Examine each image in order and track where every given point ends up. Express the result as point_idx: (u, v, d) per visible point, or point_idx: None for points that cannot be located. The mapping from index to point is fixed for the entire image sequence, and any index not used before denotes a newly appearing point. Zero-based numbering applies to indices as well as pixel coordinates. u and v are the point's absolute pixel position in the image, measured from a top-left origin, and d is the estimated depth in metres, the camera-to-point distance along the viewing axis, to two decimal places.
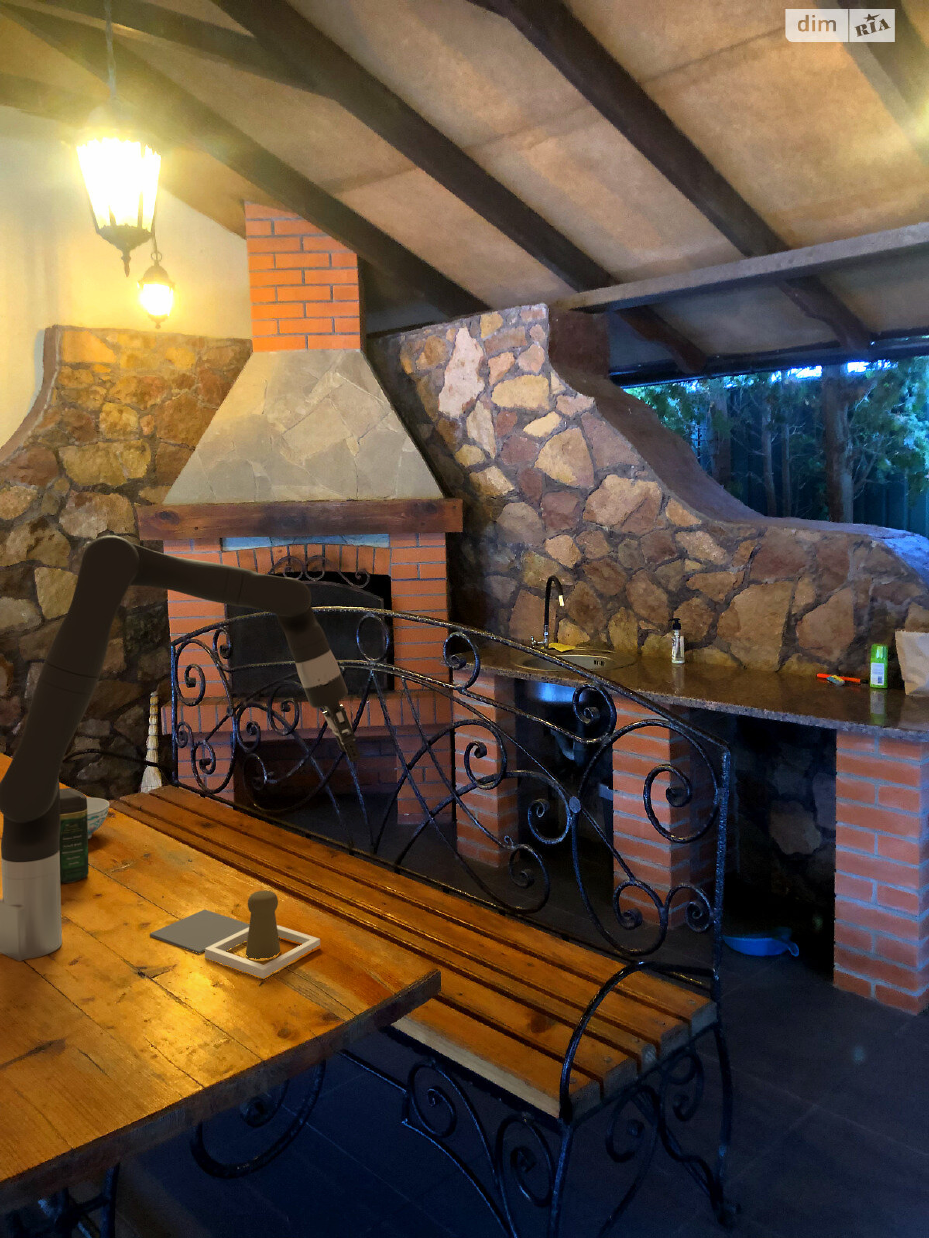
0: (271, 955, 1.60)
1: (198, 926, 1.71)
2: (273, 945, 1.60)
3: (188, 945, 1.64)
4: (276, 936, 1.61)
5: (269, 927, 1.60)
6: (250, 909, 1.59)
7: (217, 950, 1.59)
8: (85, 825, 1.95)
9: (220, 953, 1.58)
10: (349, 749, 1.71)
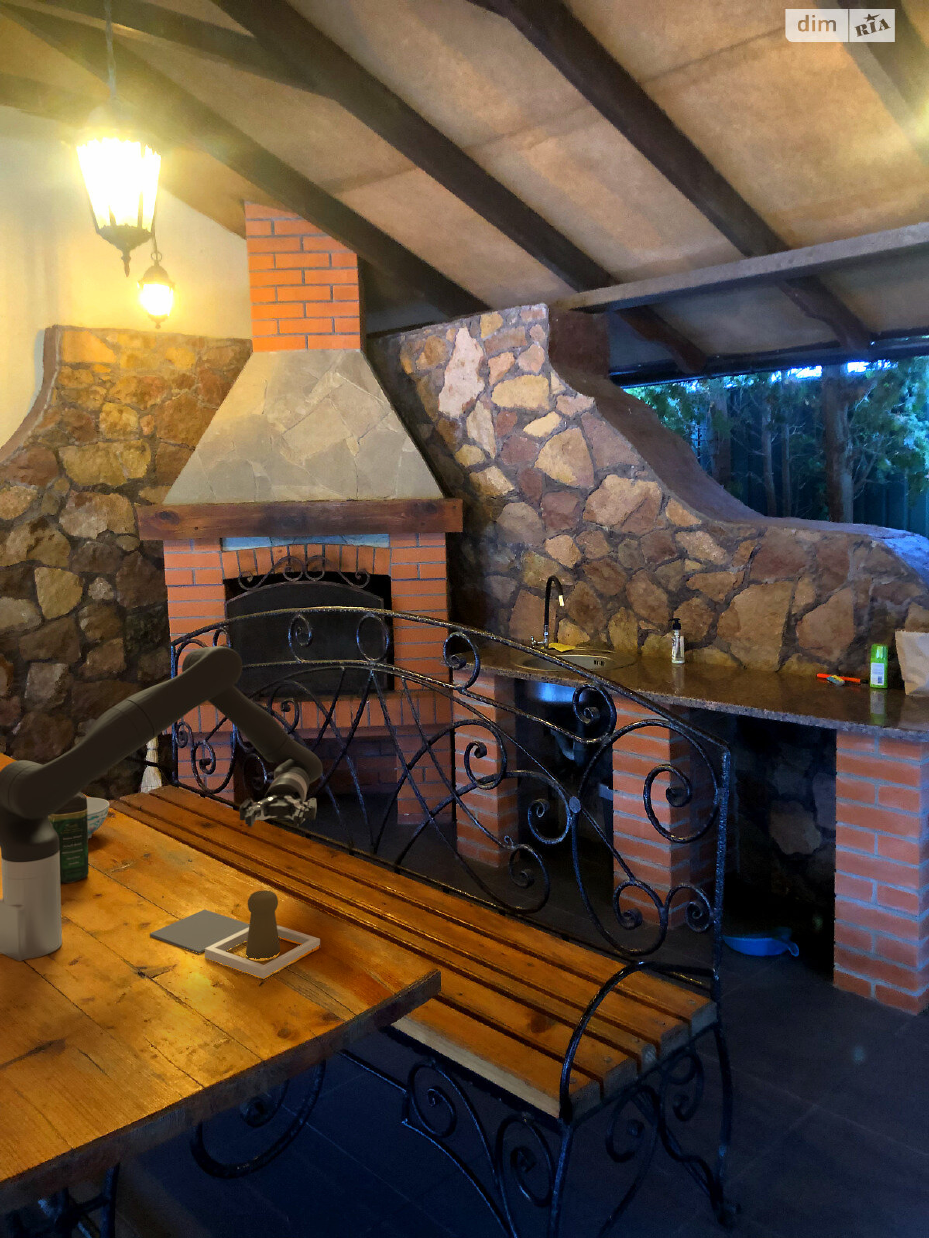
0: (271, 955, 1.60)
1: (198, 926, 1.71)
2: (273, 945, 1.60)
3: (188, 945, 1.64)
4: (276, 936, 1.61)
5: (269, 927, 1.60)
6: (250, 909, 1.59)
7: (217, 950, 1.59)
8: (85, 825, 1.95)
9: (220, 953, 1.58)
10: (303, 814, 1.73)
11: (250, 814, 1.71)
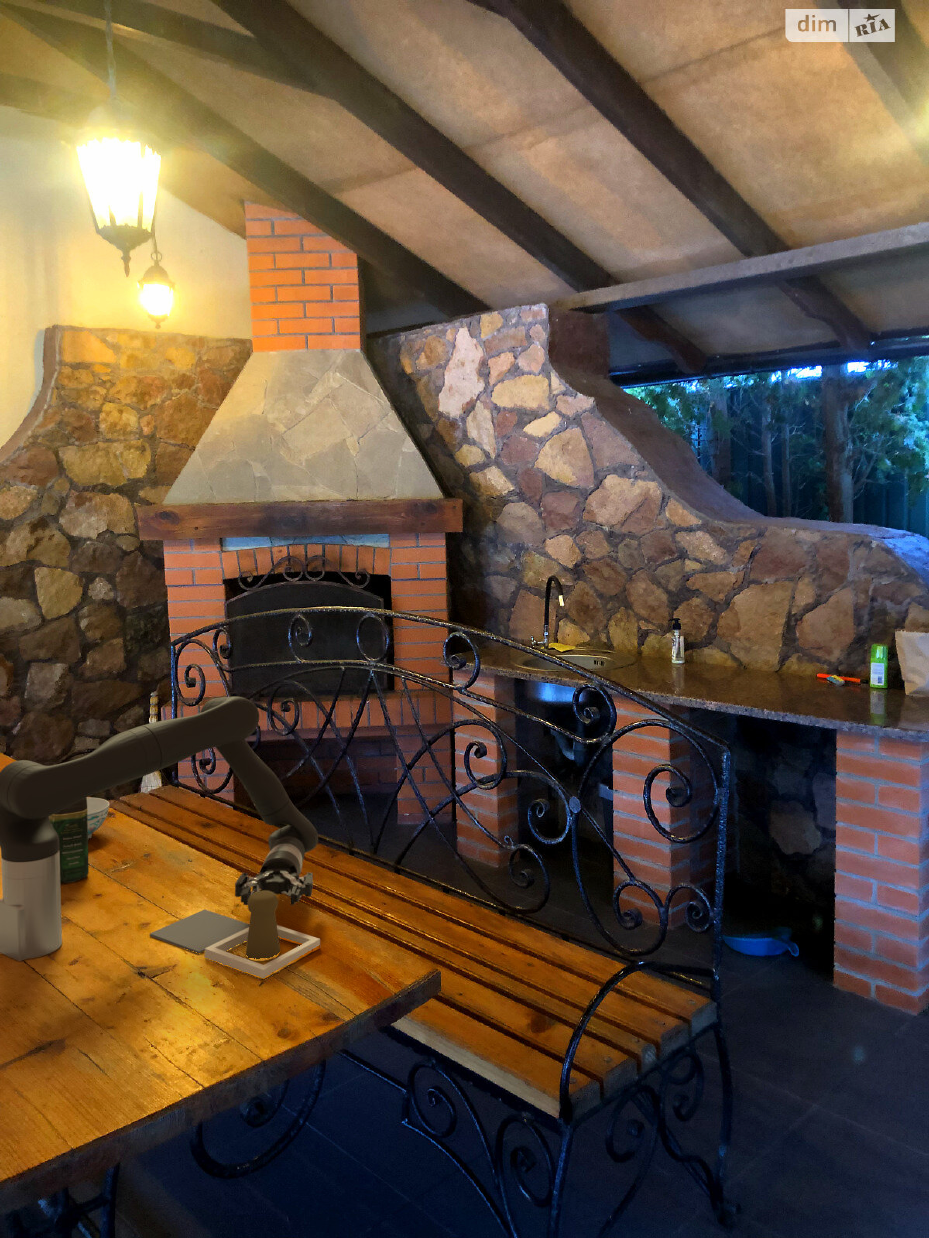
0: (271, 955, 1.60)
1: (198, 926, 1.71)
2: (273, 945, 1.60)
3: (188, 945, 1.64)
4: (276, 936, 1.61)
5: (269, 927, 1.60)
6: (250, 909, 1.59)
7: (217, 950, 1.59)
8: (85, 825, 1.95)
9: (220, 953, 1.58)
10: (299, 891, 1.71)
11: (246, 892, 1.69)
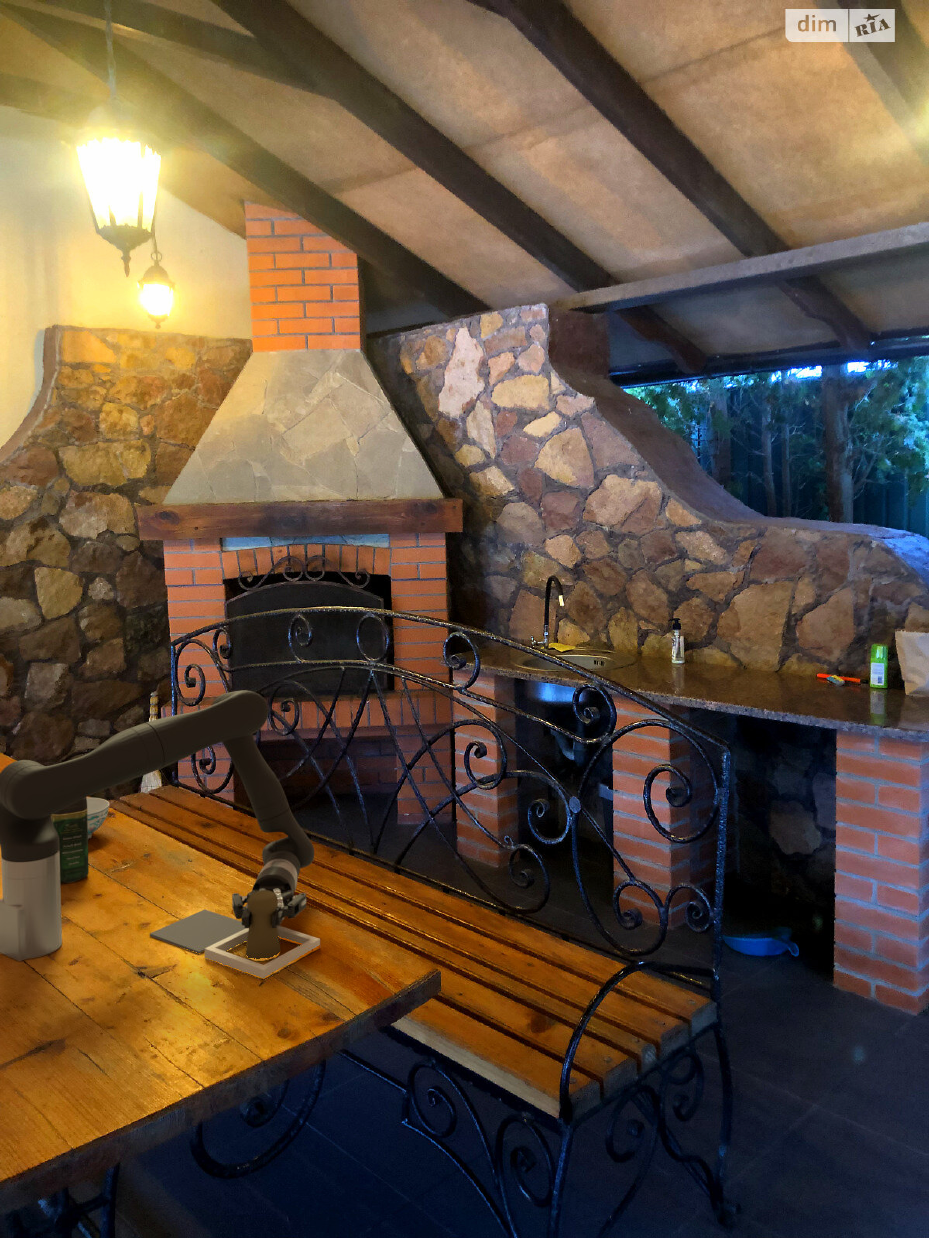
0: (271, 955, 1.60)
1: (198, 926, 1.71)
2: (273, 945, 1.60)
3: (188, 945, 1.64)
4: (276, 936, 1.61)
5: (269, 926, 1.60)
6: (250, 909, 1.59)
7: (217, 950, 1.59)
8: (85, 825, 1.95)
9: (220, 953, 1.58)
10: (282, 913, 1.61)
11: (247, 914, 1.59)
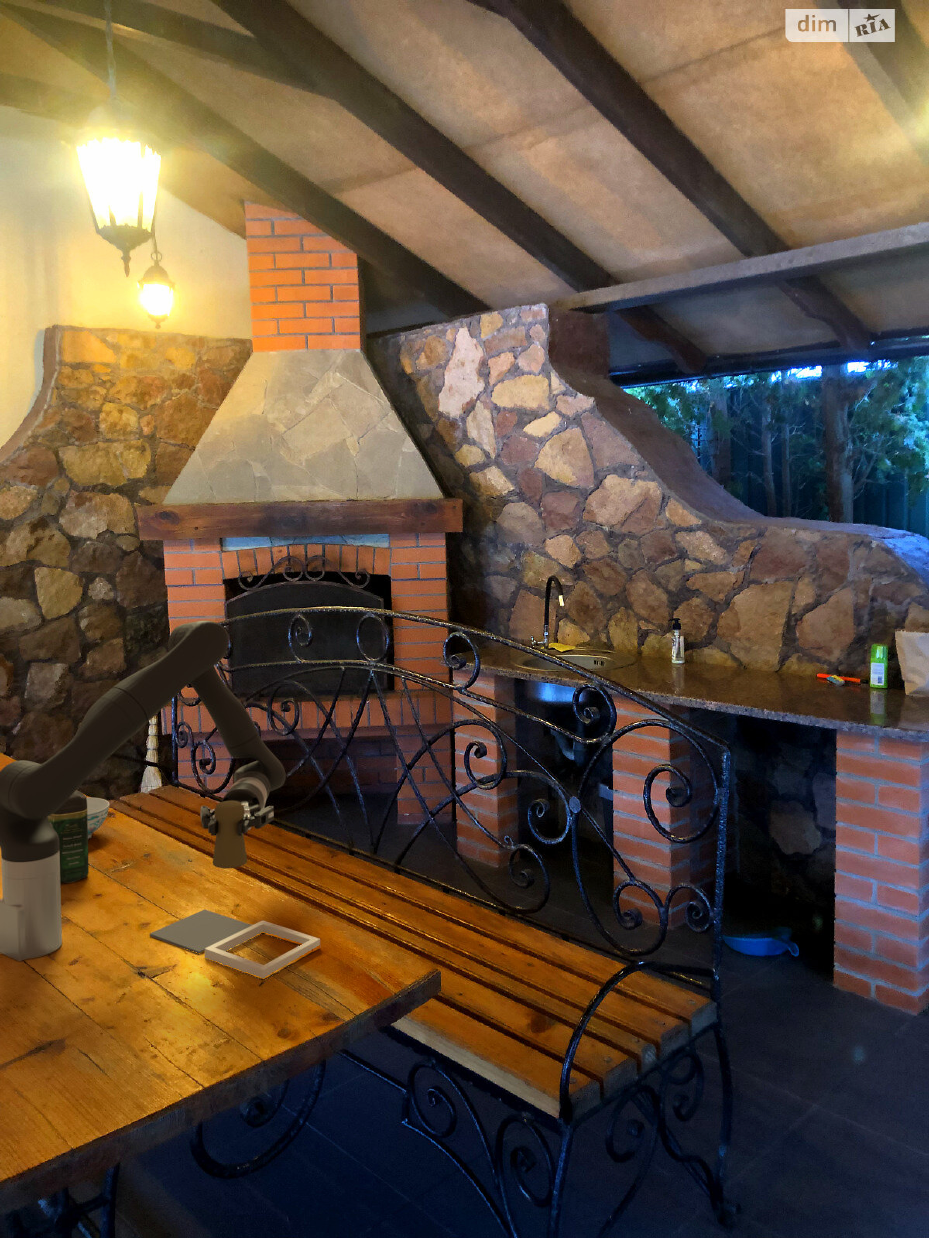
0: (237, 862, 1.63)
1: (198, 926, 1.71)
2: (239, 853, 1.63)
3: (188, 945, 1.64)
4: (242, 844, 1.64)
5: (235, 834, 1.63)
6: (217, 817, 1.62)
7: (217, 950, 1.59)
8: (85, 825, 1.95)
9: (220, 953, 1.58)
10: (248, 823, 1.64)
11: (214, 822, 1.62)
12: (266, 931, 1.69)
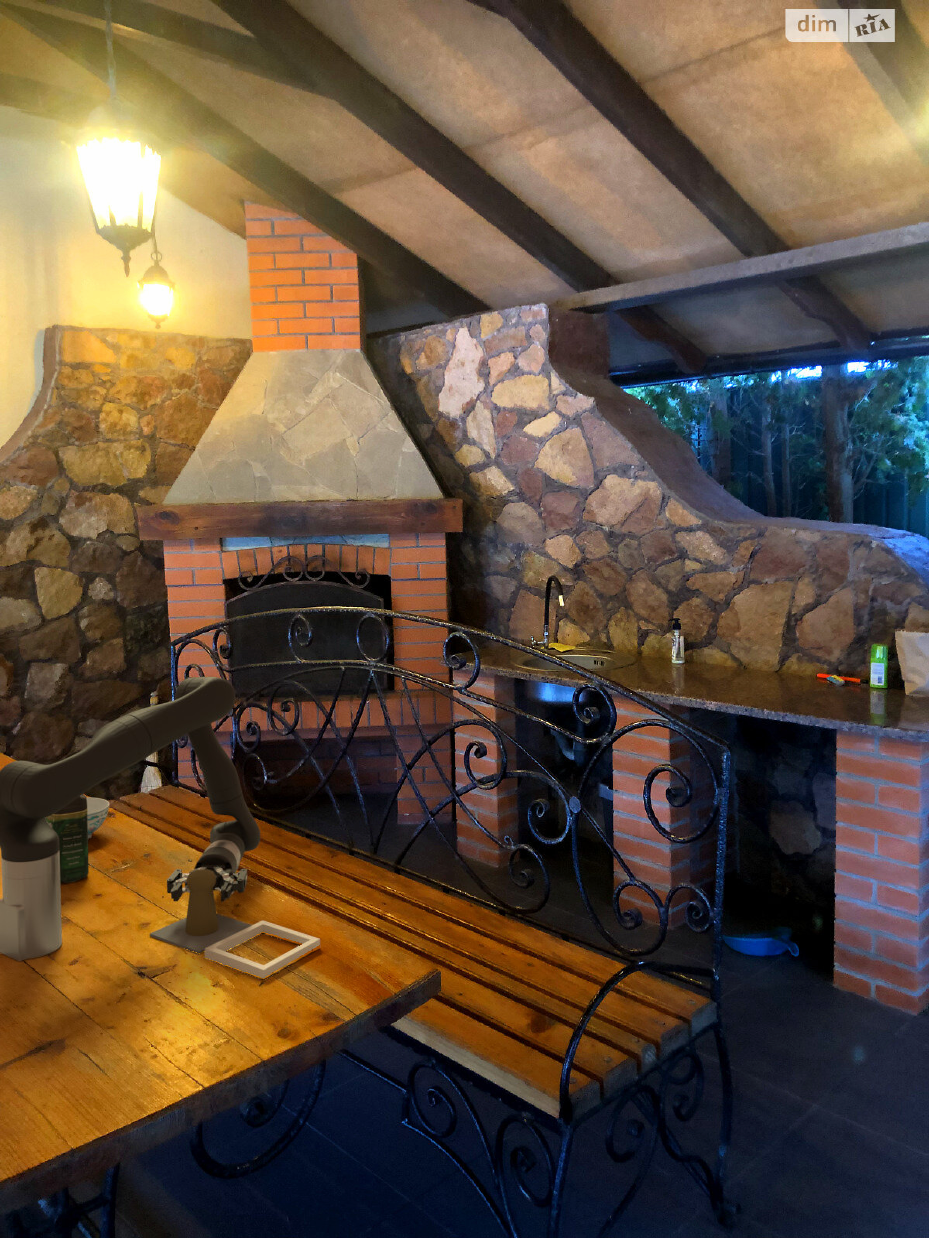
0: (209, 930, 1.68)
1: None
2: (210, 920, 1.68)
3: (188, 945, 1.64)
4: (214, 912, 1.69)
5: (206, 903, 1.68)
6: (188, 886, 1.68)
7: (217, 950, 1.59)
8: (85, 825, 1.95)
9: (220, 953, 1.58)
10: (231, 888, 1.70)
11: (176, 888, 1.68)
12: (266, 931, 1.69)
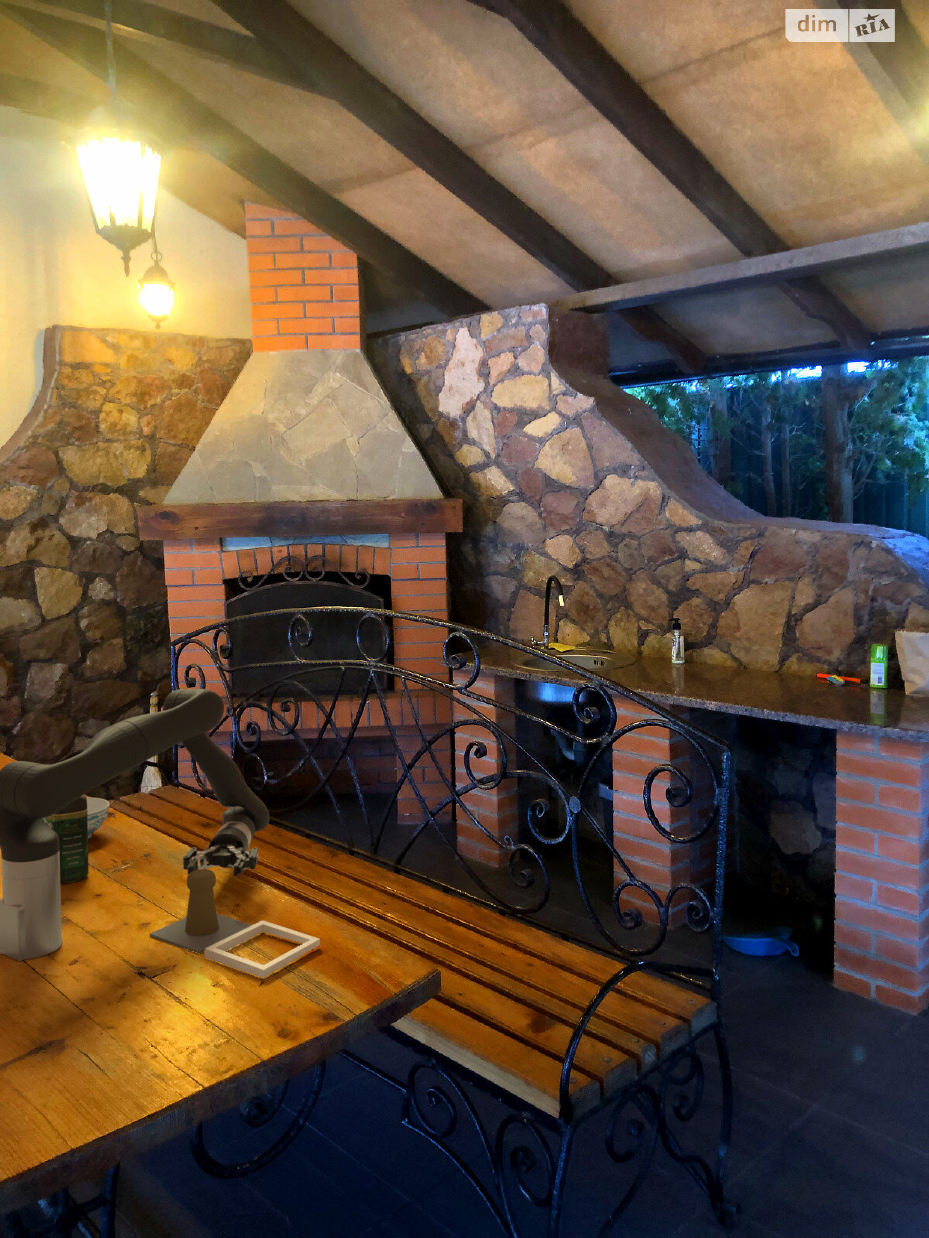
0: (209, 930, 1.68)
1: None
2: (210, 920, 1.68)
3: (188, 945, 1.64)
4: (214, 912, 1.69)
5: (206, 903, 1.68)
6: (188, 886, 1.68)
7: (217, 950, 1.59)
8: (85, 825, 1.95)
9: (220, 953, 1.58)
10: (243, 864, 1.82)
11: (192, 864, 1.80)
12: (266, 931, 1.69)
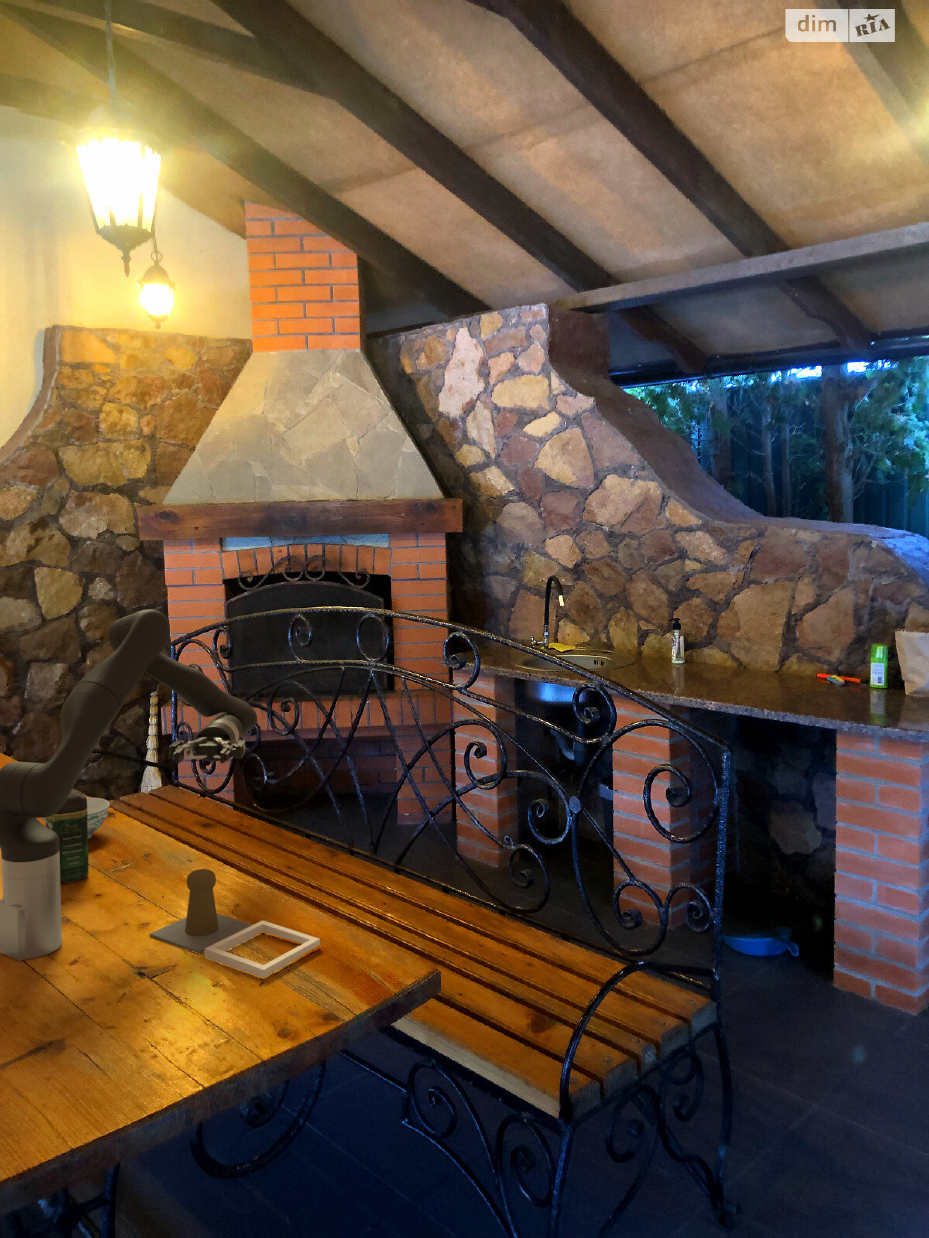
0: (209, 930, 1.68)
1: None
2: (210, 920, 1.68)
3: (188, 945, 1.64)
4: (214, 912, 1.69)
5: (206, 903, 1.68)
6: (188, 886, 1.68)
7: (217, 950, 1.59)
8: (85, 825, 1.95)
9: (220, 953, 1.58)
10: (230, 752, 1.81)
11: (178, 751, 1.79)
12: (266, 931, 1.69)
